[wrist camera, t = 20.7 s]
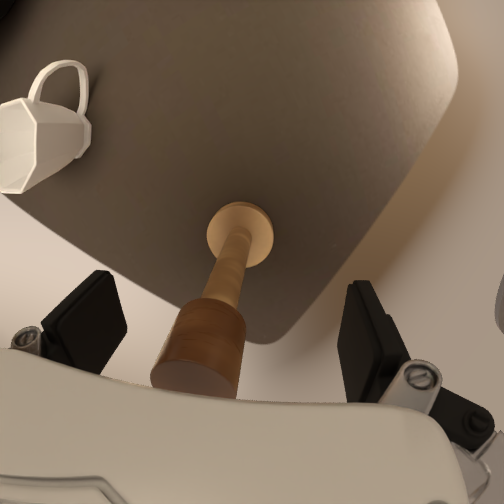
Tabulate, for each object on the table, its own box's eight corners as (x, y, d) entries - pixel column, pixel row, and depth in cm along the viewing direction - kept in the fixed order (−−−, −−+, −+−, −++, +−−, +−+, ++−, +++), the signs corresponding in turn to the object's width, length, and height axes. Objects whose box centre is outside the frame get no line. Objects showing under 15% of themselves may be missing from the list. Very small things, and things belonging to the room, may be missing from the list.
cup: (41, 157, 21) (-21, 175, 13) (76, 59, 17) (12, 48, 10) (89, 186, 22) (27, 213, 14) (132, 78, 18) (69, 63, 11)
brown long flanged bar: (275, 203, 21) (272, 344, 8) (271, 263, 23) (262, 433, 10) (209, 200, 22) (107, 323, 8) (210, 259, 24) (141, 415, 10)
